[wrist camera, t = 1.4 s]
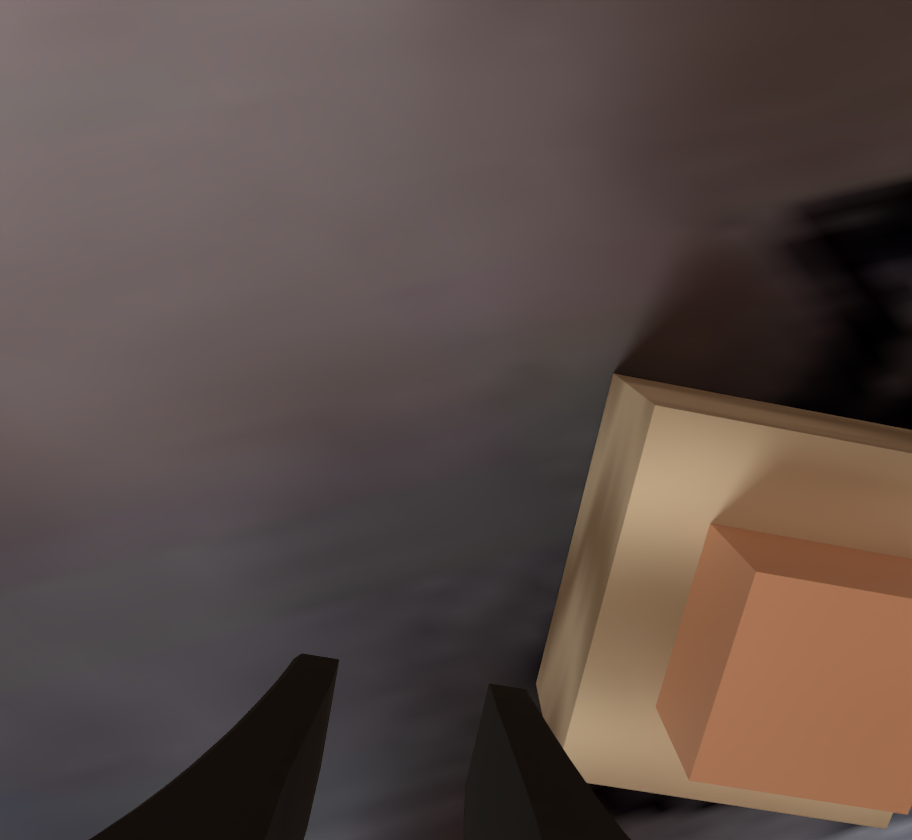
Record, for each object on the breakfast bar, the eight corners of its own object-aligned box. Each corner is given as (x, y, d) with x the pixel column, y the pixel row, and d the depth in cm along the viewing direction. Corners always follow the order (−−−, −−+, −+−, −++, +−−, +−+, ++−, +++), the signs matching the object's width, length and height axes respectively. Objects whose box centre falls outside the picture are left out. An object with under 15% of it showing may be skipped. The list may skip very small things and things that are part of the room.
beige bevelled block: (810, 728, 22) (886, 828, 19) (536, 683, 22) (555, 778, 18) (917, 431, 20) (1030, 475, 16) (613, 373, 20) (655, 405, 16)
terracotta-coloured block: (844, 737, 18) (907, 814, 15) (655, 706, 18) (689, 780, 15) (912, 559, 17) (990, 612, 14) (710, 523, 16) (756, 571, 14)
